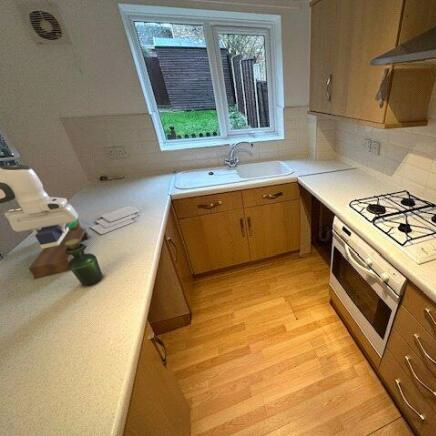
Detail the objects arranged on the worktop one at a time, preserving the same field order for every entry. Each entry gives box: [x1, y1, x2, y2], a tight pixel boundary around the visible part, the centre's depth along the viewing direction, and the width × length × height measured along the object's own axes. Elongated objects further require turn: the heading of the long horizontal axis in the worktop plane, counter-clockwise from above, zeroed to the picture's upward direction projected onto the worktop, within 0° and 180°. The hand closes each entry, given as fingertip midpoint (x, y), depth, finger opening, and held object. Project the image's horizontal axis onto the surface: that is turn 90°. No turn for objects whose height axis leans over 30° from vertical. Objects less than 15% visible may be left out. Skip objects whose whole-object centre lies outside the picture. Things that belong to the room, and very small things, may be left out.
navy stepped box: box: [34, 225, 69, 250], centre depth 102 cm, size 14×6×6 cm, turn 26°
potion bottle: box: [65, 239, 104, 287], centre depth 88 cm, size 8×8×18 cm
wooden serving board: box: [28, 228, 90, 279], centre depth 106 cm, size 12×28×5 cm, turn 26°
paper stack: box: [90, 205, 141, 235], centre depth 137 cm, size 23×25×1 cm
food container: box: [66, 211, 82, 232], centre depth 122 cm, size 12×6×10 cm, turn 129°
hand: (54, 234), depth 102 cm, fingers closed on navy stepped box, 5 cm apart
